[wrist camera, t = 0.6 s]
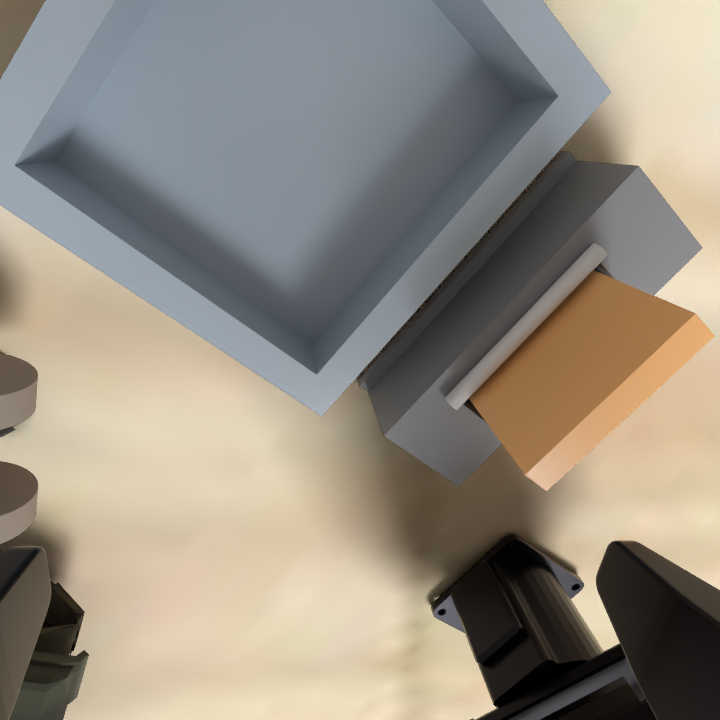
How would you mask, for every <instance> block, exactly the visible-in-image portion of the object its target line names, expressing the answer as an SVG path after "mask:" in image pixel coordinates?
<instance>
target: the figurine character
mask: <svg viewBox="0 0 720 720" xmlns="http://www.w3.org/2000/svg"><path fill="white" fill-rule="evenodd" d="M37 380H38V373H37V370H36V369H35V368H34V367H33V366H32V365H31V364H29V363H28V362H26V361H24V360H21V359H19V358H16V357H13V356H10V355H6V354H2V353H0V437H2V436H4V435H6V434H8V433H10V432H12V431H14V430H16V429H14V428H13V427H12V426H14V425H17V424H19V423H21V422H23V421H25V420H26V419H28V418H29V417H30V416H31V415H32V414H33V413H34V411H35V408H36V394H37ZM37 492H38V482H37V479H36V477H35V476H34V475H33V474H32V473H31V472H30V471H28V470H27V469H25V468H23V467H21V466H18V465H15V464H12V463H7V462H2V461H0V544H1V543H4V542H6V541H9V540H11V539H13V538H15V537H16V536H18V535H20V534H21V533H22V532H24V531H25V530H26V529H27V528H28V527H29V526H30V525H31V524H32V522H33V520H34V518H35V515H36V505H37Z"/></svg>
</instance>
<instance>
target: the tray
mask: <svg viewBox="0 0 720 720" xmlns="http://www.w3.org/2000/svg"><path fill="white" fill-rule="evenodd" d="M610 93H611V91H610V90H609V88H608V87H607V86H606V84H605V83H604V82H603V80H602V79H601V78H600V76H599V75H598V74H597V72H596V71H595V70H594V68H593V67H592V66H591V64H590V63H589V62H588V60H587V59H586V58H585V56H584V55H583V54H582V52H581V51H580V50H579V48H578V47H577V46H576V44H575V43H574V42H573V40H572V39H571V38H570V36H569V35H568V34H567V32H566V31H565V30H564V28H563V27H562V26H561V24H560V23H559V22H558V20H557V19H556V18H555V16H554V15H553V14H552V12H551V11H550V10H549V8H548V7H547V6H546V4H545V3H544V2H543V0H46V1H45V2H44V4H43V6H42V8H41V9H40V11H39V13H38V14H37V16H36V18H35V20H34V21H33V23H32V25H31V27H30V28H29V30H28V32H27V34H26V35H25V37H24V39H23V41H22V42H21V44H20V46H19V47H18V49H17V51H16V53H15V54H14V56H13V58H12V60H11V61H10V63H9V65H8V67H7V68H6V70H5V72H4V74H3V75H2V77H1V79H0V205H1V206H2V207H4V208H5V209H7V210H8V211H10V212H11V213H13V214H14V215H16V216H17V217H19V218H20V219H22V220H23V221H25V222H27V223H28V224H30V225H31V226H33V227H34V228H36V229H37V230H39V231H40V232H42V233H43V234H45V235H46V236H48V237H49V238H51V239H52V240H54V241H55V242H57V243H58V244H60V245H62V246H63V247H65V248H66V249H68V250H69V251H71V252H72V253H74V254H75V255H77V256H78V257H80V258H81V259H83V260H84V261H86V262H87V263H89V264H90V265H92V266H93V267H95V268H97V269H98V270H100V271H101V272H103V273H104V274H106V275H107V276H109V277H110V278H112V279H113V280H115V281H116V282H118V283H119V284H121V285H122V286H124V287H125V288H127V289H128V290H130V291H132V292H133V293H135V294H136V295H138V296H139V297H141V298H142V299H144V300H145V301H147V302H148V303H150V304H151V305H153V306H154V307H156V308H157V309H159V310H160V311H162V312H164V313H165V314H167V315H168V316H170V317H171V318H173V319H174V320H176V321H177V322H179V323H180V324H182V325H183V326H185V327H186V328H188V329H189V330H191V331H192V332H194V333H195V334H197V335H199V336H200V337H202V338H203V339H205V340H206V341H208V342H209V343H211V344H212V345H214V346H215V347H217V348H218V349H220V350H221V351H223V352H224V353H226V354H227V355H229V356H230V357H232V358H234V359H235V360H237V361H238V362H240V363H241V364H243V365H244V366H246V367H247V368H249V369H250V370H252V371H253V372H255V373H256V374H258V375H259V376H261V377H262V378H264V379H265V380H267V381H269V382H270V383H272V384H273V385H275V386H276V387H278V388H279V389H281V390H282V391H284V392H285V393H287V394H288V395H290V396H291V397H293V398H294V399H296V400H297V401H299V402H300V403H302V404H304V405H305V406H307V407H308V408H310V409H311V410H313V411H314V412H316V413H317V414H319V415H320V416H322V415H323V414H324V413H325V412H326V411H327V410H328V409H329V408H330V406H331V405H332V404H333V403H334V402H335V401H336V400H337V399H338V398H339V396H340V395H341V394H342V393H343V392H344V391H345V390H346V389H347V387H348V386H349V385H350V384H351V383H352V382H353V381H354V380H355V379H356V377H357V376H358V375H359V374H360V373H361V372H362V371H363V370H364V368H365V367H366V366H367V365H368V364H369V363H370V362H371V361H372V359H373V358H374V357H375V356H376V355H377V354H378V353H379V352H380V351H381V349H382V348H383V347H384V346H385V345H386V344H387V343H388V342H389V340H390V339H391V338H392V337H393V336H394V335H395V334H396V333H397V331H398V330H399V329H400V328H401V327H402V326H403V325H404V324H405V323H406V321H407V320H408V319H409V318H410V317H411V316H412V315H413V314H414V312H415V311H416V310H417V309H418V308H419V307H420V306H421V305H422V304H423V302H424V301H425V300H426V299H427V298H428V297H429V296H430V295H431V293H432V292H433V291H434V290H435V289H436V288H437V287H438V286H439V284H440V283H441V282H442V281H443V280H444V279H445V278H446V277H447V276H448V274H449V273H450V272H451V271H452V270H453V269H454V268H455V267H456V265H457V264H458V263H459V262H460V261H461V260H462V259H463V258H464V257H465V255H466V254H467V253H468V252H469V251H470V250H471V249H472V248H473V246H474V245H475V244H476V243H477V242H478V241H479V240H480V239H481V237H482V236H483V235H484V234H485V233H486V232H487V231H488V230H489V229H490V227H491V226H492V225H493V224H494V223H495V222H496V221H497V220H498V218H499V217H500V216H501V215H502V214H503V213H504V212H505V211H506V209H507V208H508V207H509V206H510V205H511V204H512V203H513V202H514V201H515V199H516V198H517V197H518V196H519V195H520V194H521V193H522V192H523V190H524V189H525V188H526V187H527V186H528V185H529V184H530V183H531V182H532V180H533V179H534V178H535V177H536V176H537V175H538V174H539V173H540V171H541V170H542V169H543V168H544V167H545V166H546V165H547V164H548V162H549V161H550V160H551V159H552V158H553V157H554V156H555V155H556V154H557V152H558V151H559V150H560V149H561V148H562V147H563V146H564V145H565V143H566V142H567V141H568V140H569V139H570V138H571V137H572V136H573V135H574V133H575V132H576V131H577V130H578V129H579V128H580V127H581V126H582V124H583V123H584V122H585V121H586V120H587V119H588V118H589V117H590V115H591V114H592V113H593V112H594V111H595V110H596V109H597V108H598V107H599V105H600V104H601V103H602V102H603V101H604V100H605V99H606V98H607V96H608V95H609V94H610Z"/></svg>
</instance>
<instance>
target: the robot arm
mask: <svg viewBox="0 0 720 720" xmlns="http://www.w3.org/2000/svg"><path fill="white" fill-rule="evenodd" d="M513 543H514V544H513ZM511 544H512V545H511ZM596 586H597V590H598V593H599V595H600V598H601V600H602V602H603V605H604V607H605V609H606V612H607V614H608V616H609V619H610V621H611V623H612V626H613V628H614V630H615V632H616V635H617V637H618V639H619V642H620V644H618V645H616V646H614V647H612V648H610V649H608V650H606V651H603V650H602V648H601V646H600V645H599V643H598V642H597V640H596V638H595V637H594V635H593V634H592V632H591V631H590V629H589V627H588V626H587V624H586V623H585V621H584V620H583V618H582V616H581V615H580V613H579V612H578V610H577V609H576V607H575V605H574V604H573V602H572V601H571V599H572V598H573V597H574V596H575V595H576V594H578V593H579V592H580V591H581V590H582V589H583V587H584V583H583V582H582V580H581V579H580V577H579V576H578V575H576V574H575V573H573V572H572V571H570V570H569V569H567V568H566V567H564V566H563V565H561V564H560V563H558V562H557V561H555V560H554V559H552V558H551V557H549V556H548V555H546V554H545V553H543V552H542V551H540V550H539V549H537V548H536V547H534V546H533V545H531V544H530V543H528V542H527V541H525V540H524V539H522V538H521V537H519V536H518V535H515V534H510V535H507V536H506V537H505V538H503V539H502V540H501V541H500V542H499V543H498V544H497V545H496V546H495V547H494V548H493V549H491V550H490V551H489V552H488V553H487V554H486V555H485V556H484V557H483V558H482V559H481V560H480V561H478V562H477V563H476V564H475V565H474V566H473V567H472V568H471V569H470V570H469V571H468V572H466V573H465V574H464V575H463V576H462V577H461V578H460V579H459V580H458V581H457V582H456V583H455V584H453V585H452V586H451V587H450V588H449V589H448V590H447V591H446V592H445V593H444V594H443V595H441V596H440V597H439V598H438V599H437V600H436V601H435V602H434V603H433V604H432V606H431V609H432V612H433V615H434V617H435V618H437V619H439V620H441V621H443V622H445V623H446V624H448V625H450V626H452V627H454V628H456V629H458V630H460V631H462V632H464V633H465V634H466V637H467V639H468V642H469V644H470V647H471V650H472V652H473V655H474V658H475V660H476V662H477V663H478V665H479V668H480V670H481V673H482V676H483V678H484V681H485V683H486V686H487V689H488V691H489V694H490V697H491V699H492V702H493V704H494V706H496V708H497V709H495V710H493V711H491V712H489V713H487V714H485V715H483V716H481V717H479V718H478V719H476V720H720V590H718V589H717V588H715V587H713V586H712V585H710V584H708V583H707V582H705V581H703V580H701V579H700V578H698V577H696V576H695V575H693V574H691V573H690V572H688V571H686V570H684V569H683V568H681V567H679V566H678V565H676V564H674V563H673V562H671V561H669V560H667V559H666V558H664V557H662V556H661V555H659V554H657V553H656V552H654V551H652V550H650V549H649V548H647V547H645V546H644V545H642V544H640V543H638V542H636V541H613V542H611V543H610V544H609V545H608V547H607V549H606V552H605V554H604V557H603V560H602V562H601V565H600V567H599V570H598V573H597V576H596ZM50 599H51V583H50V576H49V570H48V563H47V556H46V552H45V550H44V548H42V547H40V546H14V547H10V548H8V549H6V550H4V551H3V552H1V553H0V720H9V718H10V715H11V712H12V710H13V707H14V704H15V702H16V699H17V696H18V693H19V690H20V687H21V685H22V682H23V679H24V676H25V673H26V670H27V667H28V665H29V662H30V659H31V656H32V653H33V650H34V647H35V645H36V642H37V639H38V636H39V633H40V630H41V627H42V625H43V622H44V619H45V616H46V613H47V610H48V607H49V604H50ZM471 720H474V719H471Z"/></svg>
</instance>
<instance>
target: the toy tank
mask: <svg viewBox="0 0 720 720" xmlns="http://www.w3.org/2000/svg"><path fill="white" fill-rule="evenodd" d="M50 583H51V599H50V604H49V607H48V610H47V613H46V616H45V619H44V622H43V625H42V627H41V630H40V633H39V636H38V639H37V642H36V645H35V647H34V650H33V653H32V656H31V659H30V662H29V665H28V667H27V670H26V673H25V676H24V679H23V682H22V685H21V687H20V690H19V693H18V696H17V699H16V702H15V704H14V707H13V710H12V712H11V715H10V718H9V720H63V718H64V715H65V711H66V708H67V704H69V703H71V702H72V701H73V700H74V699H75V698H76V697H77V695H78V691H79V687H80V684H81V680H82V677H83V673H84V670H85V666H86V663H87V659H88V656H89V654H88V653H87V652H86V651H85V650H84V651H82V652H81V653H80V654H78V655H77V656H71V653H72V651H74V648H75V646H76V642H77V638H78V635H79V631H80V627H81V624H82V620H83V616H84V613H85V612H84V611H83V610H82V608H81V607H80V606H79V605H78V604H77V603H76V602H75V601H74V600H73V599H72V597H71V596H70V595H69V594H68V593H67V592H66V591H65V590H64V589H63V587H62V586H61V585H60V584H59V583H57V584H54V583H53V582H52V581H50ZM69 653H70V655H69Z"/></svg>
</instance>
